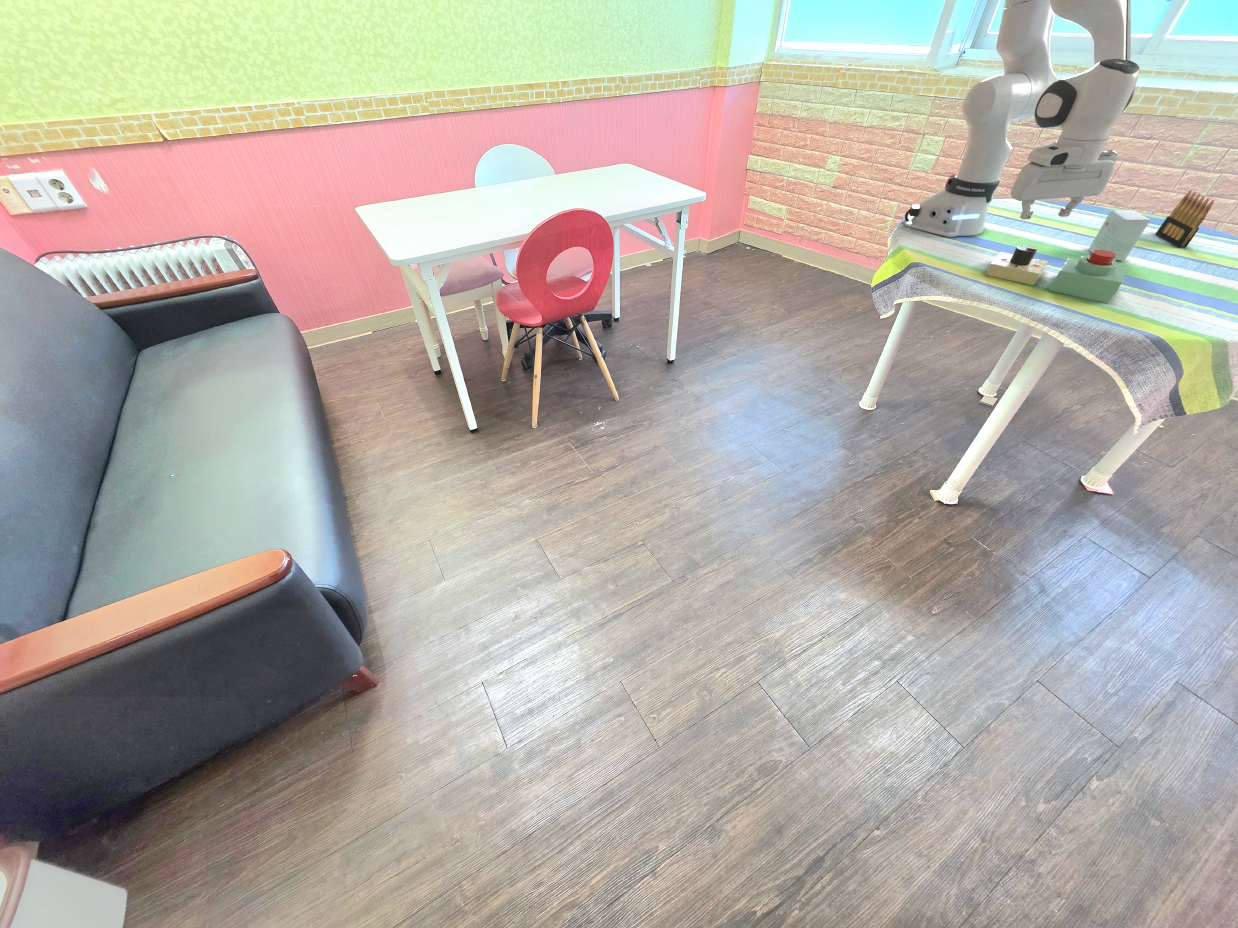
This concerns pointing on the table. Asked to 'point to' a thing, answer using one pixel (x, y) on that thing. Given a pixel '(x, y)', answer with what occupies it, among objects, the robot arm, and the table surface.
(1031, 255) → the knob
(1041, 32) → the robot arm
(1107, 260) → the button
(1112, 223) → the small box
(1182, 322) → the table surface
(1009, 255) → the panel
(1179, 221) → the ammunition clip
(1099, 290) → the green push button box
